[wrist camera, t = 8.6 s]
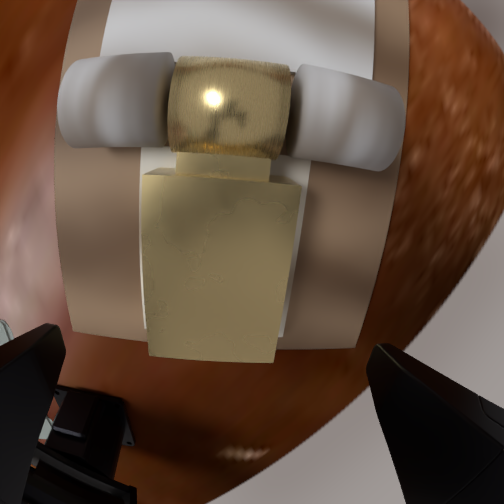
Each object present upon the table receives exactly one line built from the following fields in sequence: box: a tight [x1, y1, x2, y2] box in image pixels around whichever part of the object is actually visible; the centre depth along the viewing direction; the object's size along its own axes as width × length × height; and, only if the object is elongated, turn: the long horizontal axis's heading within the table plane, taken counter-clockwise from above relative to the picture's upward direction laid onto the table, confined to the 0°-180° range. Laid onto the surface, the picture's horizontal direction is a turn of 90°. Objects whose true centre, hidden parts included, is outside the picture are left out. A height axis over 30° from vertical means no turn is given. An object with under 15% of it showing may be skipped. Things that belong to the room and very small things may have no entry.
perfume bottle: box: [141, 56, 302, 363], centre depth 12 cm, size 13×6×4 cm, turn 174°
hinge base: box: [54, 0, 409, 349], centre depth 12 cm, size 24×18×5 cm
